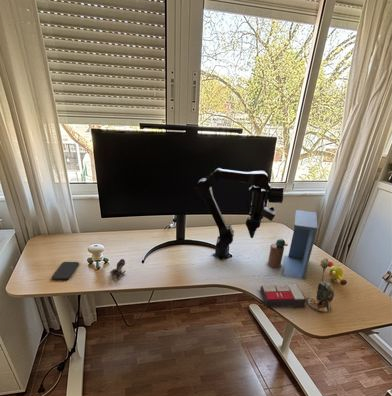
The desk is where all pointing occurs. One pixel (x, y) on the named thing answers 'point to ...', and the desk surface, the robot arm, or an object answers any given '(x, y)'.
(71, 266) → the phone
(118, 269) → the dark squid figurine
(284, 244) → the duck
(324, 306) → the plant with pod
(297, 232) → the cubby
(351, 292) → the desk surface
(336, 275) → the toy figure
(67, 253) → the desk surface
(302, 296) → the red and grey box
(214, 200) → the robot arm
